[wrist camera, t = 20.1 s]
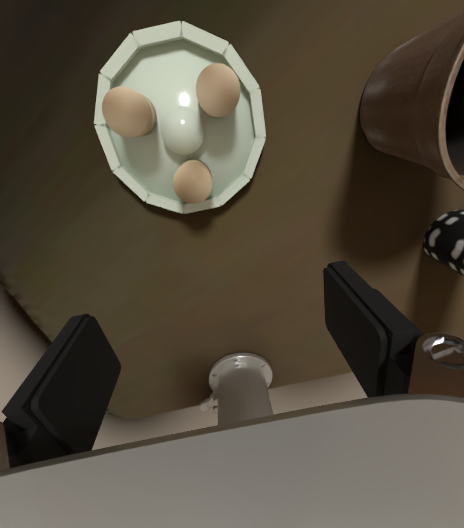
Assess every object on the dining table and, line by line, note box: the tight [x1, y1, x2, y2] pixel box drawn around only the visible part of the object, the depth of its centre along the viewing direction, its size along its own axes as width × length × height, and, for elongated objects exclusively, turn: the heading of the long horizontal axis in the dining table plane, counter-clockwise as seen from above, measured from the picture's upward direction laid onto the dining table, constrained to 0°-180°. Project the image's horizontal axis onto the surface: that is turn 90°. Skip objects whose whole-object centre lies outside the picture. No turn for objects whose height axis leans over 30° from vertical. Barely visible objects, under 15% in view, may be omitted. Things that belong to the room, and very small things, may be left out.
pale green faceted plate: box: [94, 21, 266, 214], centre depth 31 cm, size 19×19×2 cm
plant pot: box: [360, 9, 464, 190], centre depth 26 cm, size 16×16×16 cm
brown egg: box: [173, 159, 212, 204], centre depth 32 cm, size 4×4×5 cm
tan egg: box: [102, 86, 157, 137], centre depth 28 cm, size 4×4×5 cm
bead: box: [196, 63, 240, 118], centre depth 28 cm, size 4×4×5 cm
